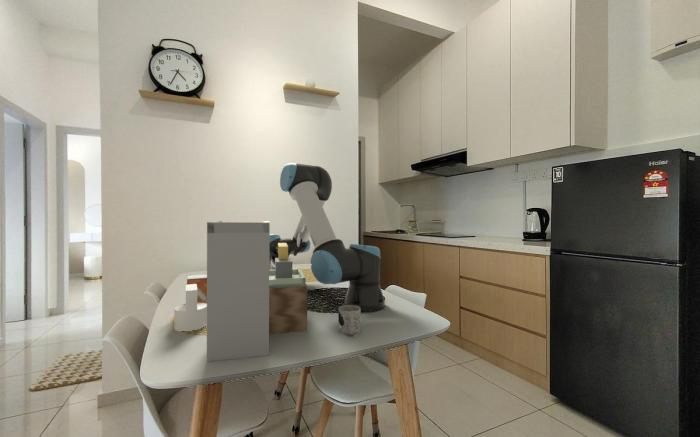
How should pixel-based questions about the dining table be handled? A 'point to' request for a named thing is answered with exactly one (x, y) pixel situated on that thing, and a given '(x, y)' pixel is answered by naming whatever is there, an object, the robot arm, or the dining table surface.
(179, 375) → the dining table surface
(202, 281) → the small box
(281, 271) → the yellow grey boxy piece
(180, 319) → the base with upright slab
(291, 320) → the riser
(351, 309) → the mug
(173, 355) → the dining table surface
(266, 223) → the grey tall block
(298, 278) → the tray
